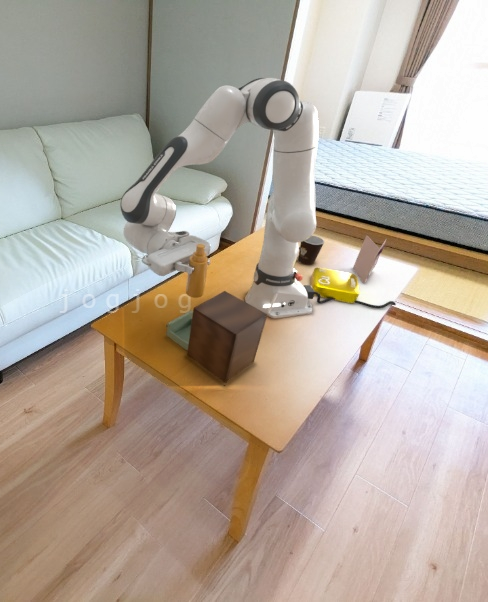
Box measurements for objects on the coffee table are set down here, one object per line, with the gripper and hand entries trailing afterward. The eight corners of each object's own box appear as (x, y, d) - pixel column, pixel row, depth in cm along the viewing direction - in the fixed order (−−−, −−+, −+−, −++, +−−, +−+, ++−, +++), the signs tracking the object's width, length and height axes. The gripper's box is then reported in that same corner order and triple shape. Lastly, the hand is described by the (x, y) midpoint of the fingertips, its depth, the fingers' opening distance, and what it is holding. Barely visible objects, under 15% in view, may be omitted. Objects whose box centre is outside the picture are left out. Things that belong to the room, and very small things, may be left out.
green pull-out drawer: (161, 333, 117) (162, 319, 114) (183, 320, 123) (185, 306, 119) (198, 361, 107) (201, 346, 104) (221, 345, 113) (224, 331, 109)
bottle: (201, 287, 108) (208, 241, 99) (205, 297, 104) (212, 250, 95) (184, 287, 108) (189, 241, 99) (187, 297, 104) (192, 250, 95)
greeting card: (366, 284, 142) (382, 249, 134) (345, 277, 146) (360, 243, 137) (373, 272, 149) (389, 239, 141) (353, 266, 153) (367, 233, 145)
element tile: (355, 304, 131) (360, 293, 129) (310, 295, 136) (314, 284, 133) (353, 283, 143) (357, 273, 140) (311, 275, 147) (314, 265, 144)
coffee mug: (320, 266, 153) (328, 244, 147) (299, 266, 153) (306, 244, 147) (309, 253, 163) (316, 232, 157) (289, 252, 163) (295, 231, 157)
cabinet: (186, 357, 109) (193, 307, 98) (215, 339, 116) (224, 290, 105) (224, 386, 100) (236, 334, 90) (253, 364, 107) (267, 314, 96)
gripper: (138, 249, 101) (174, 269, 93) (189, 229, 112) (226, 245, 103) (138, 269, 105) (172, 290, 97) (187, 247, 116) (222, 265, 107)
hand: (200, 266), depth 100 cm, fingers closed on bottle, 5 cm apart
